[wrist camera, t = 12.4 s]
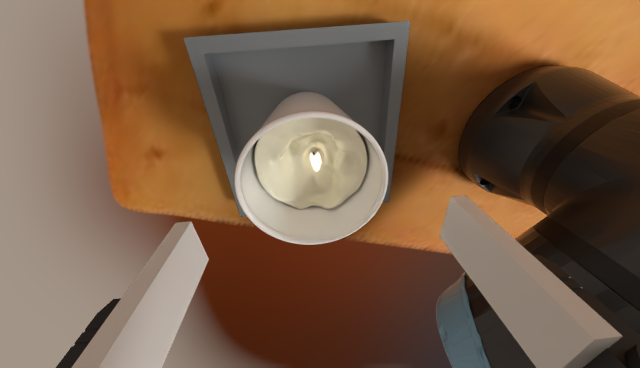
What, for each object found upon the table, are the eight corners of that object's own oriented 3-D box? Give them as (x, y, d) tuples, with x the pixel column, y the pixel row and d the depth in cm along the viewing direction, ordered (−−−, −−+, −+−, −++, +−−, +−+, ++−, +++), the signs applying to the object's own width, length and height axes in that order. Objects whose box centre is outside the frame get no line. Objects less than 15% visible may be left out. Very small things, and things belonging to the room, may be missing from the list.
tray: (397, 23, 21) (410, 20, 19) (381, 188, 31) (389, 201, 28) (197, 38, 21) (183, 37, 18) (245, 202, 30) (240, 216, 28)
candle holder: (350, 168, 28) (381, 239, 17) (269, 174, 27) (251, 251, 17) (353, 80, 22) (399, 107, 12) (253, 85, 22) (213, 118, 12)
